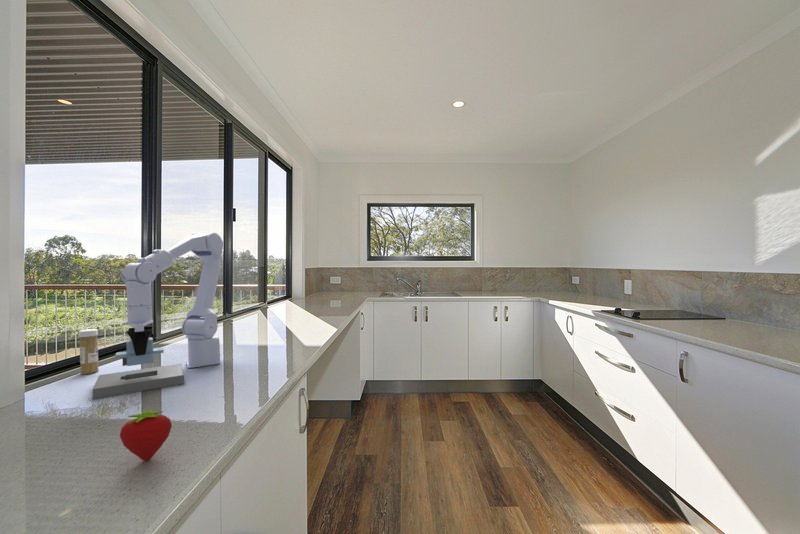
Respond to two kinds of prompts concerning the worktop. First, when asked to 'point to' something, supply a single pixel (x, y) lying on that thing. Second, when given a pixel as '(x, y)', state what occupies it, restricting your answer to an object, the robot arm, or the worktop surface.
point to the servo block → (132, 359)
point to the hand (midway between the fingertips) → (140, 353)
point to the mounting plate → (138, 380)
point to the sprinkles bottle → (88, 351)
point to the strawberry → (145, 433)
